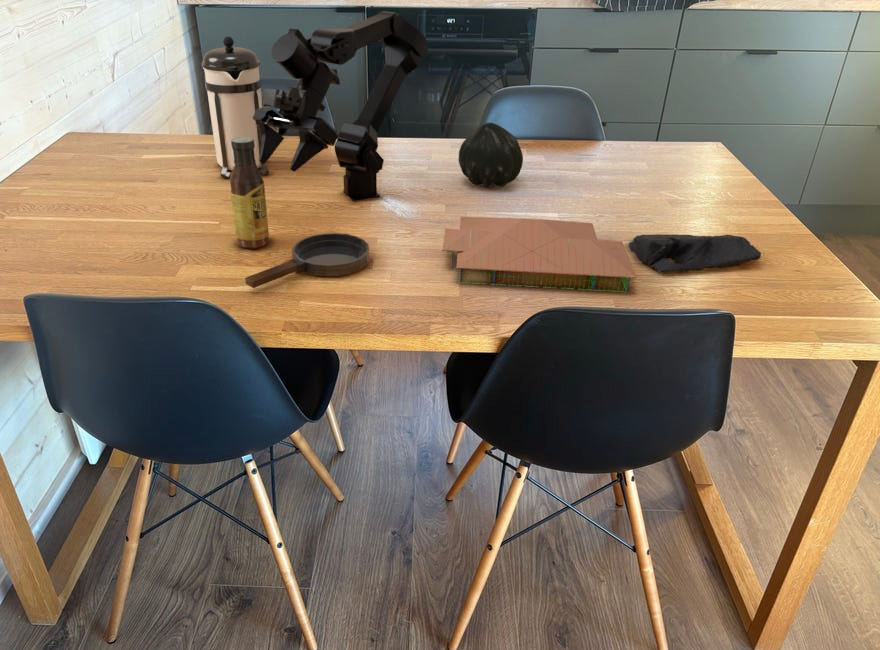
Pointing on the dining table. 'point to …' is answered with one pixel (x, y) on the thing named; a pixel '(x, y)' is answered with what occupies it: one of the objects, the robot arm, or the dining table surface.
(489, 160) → the squash
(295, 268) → the pan handle
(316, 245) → the cast iron pan
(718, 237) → the dark slate chunk
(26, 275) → the dining table surface
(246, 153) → the sauce bottle
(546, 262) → the house
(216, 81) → the coffee press
